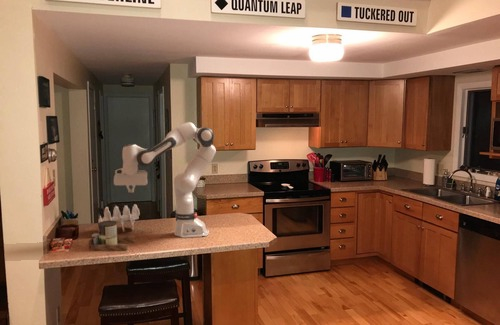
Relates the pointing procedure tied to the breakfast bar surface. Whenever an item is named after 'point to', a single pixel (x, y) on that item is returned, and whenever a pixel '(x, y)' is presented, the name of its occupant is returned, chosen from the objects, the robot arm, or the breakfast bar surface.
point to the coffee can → (107, 233)
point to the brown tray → (111, 247)
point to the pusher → (96, 239)
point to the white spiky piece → (119, 218)
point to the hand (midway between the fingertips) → (131, 192)
